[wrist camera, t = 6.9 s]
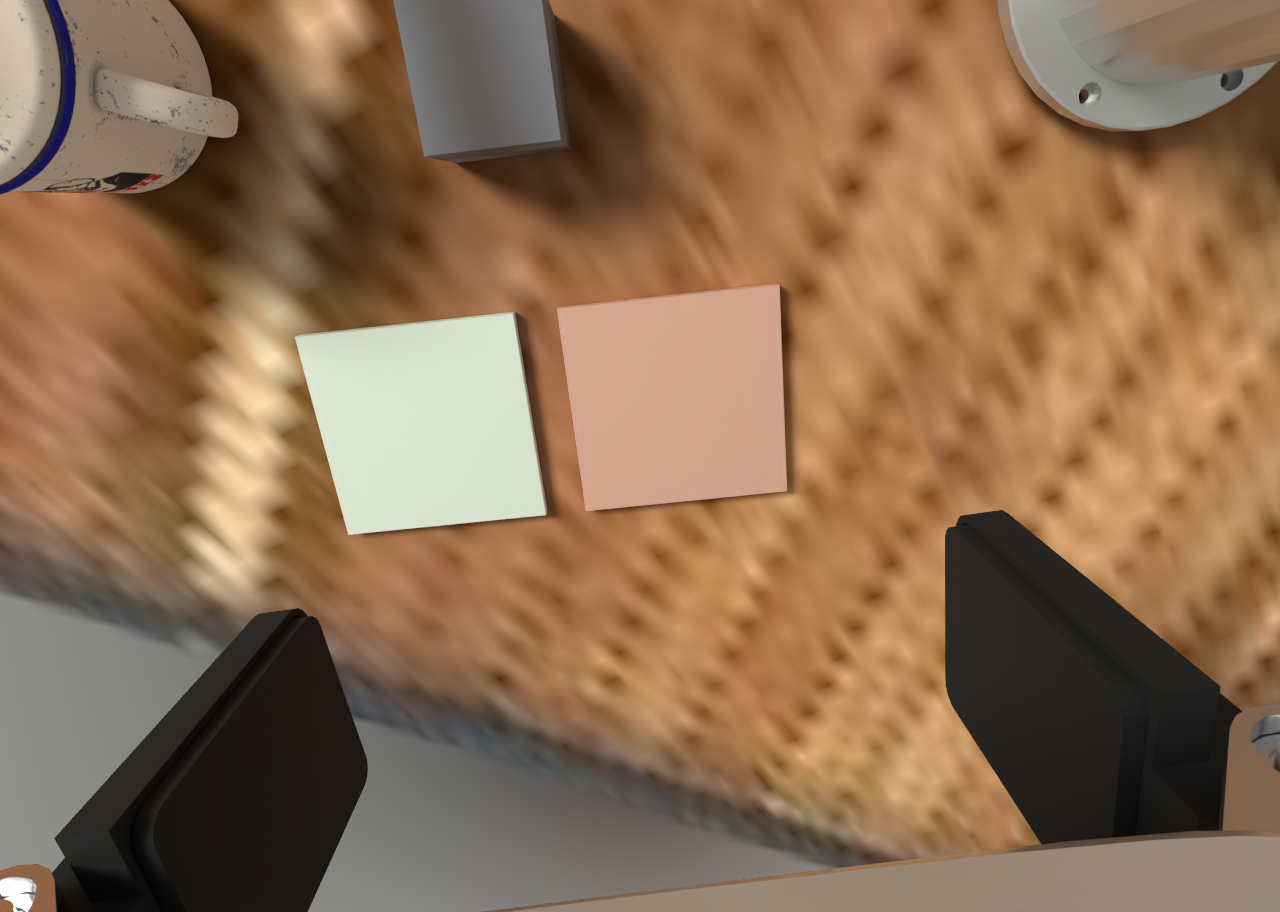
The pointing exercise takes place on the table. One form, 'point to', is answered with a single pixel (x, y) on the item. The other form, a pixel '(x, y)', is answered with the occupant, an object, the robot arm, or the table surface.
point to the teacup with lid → (102, 96)
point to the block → (484, 77)
